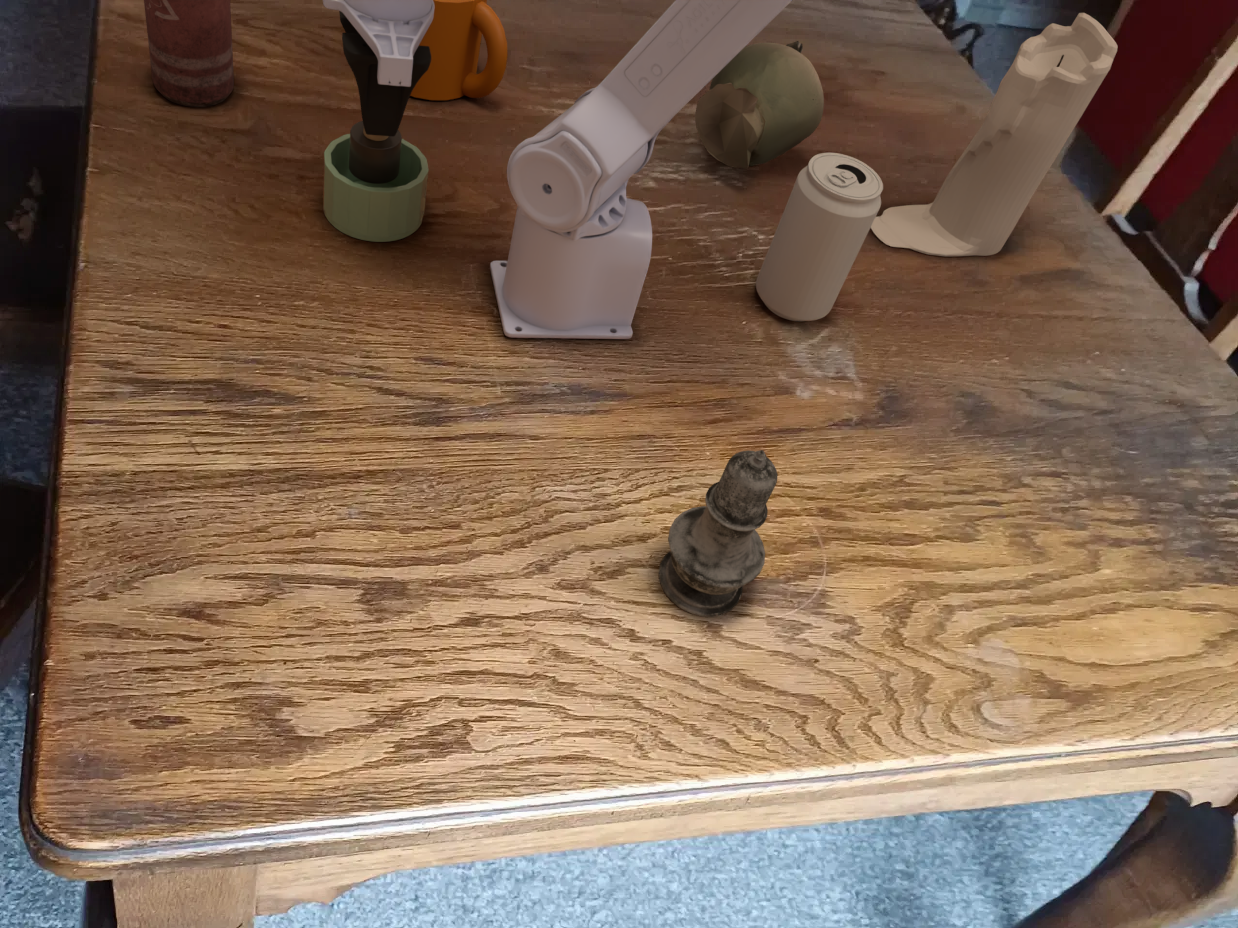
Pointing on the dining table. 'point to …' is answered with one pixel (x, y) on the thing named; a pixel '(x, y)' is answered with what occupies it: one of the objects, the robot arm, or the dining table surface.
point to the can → (191, 50)
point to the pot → (374, 195)
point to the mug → (462, 51)
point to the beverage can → (819, 236)
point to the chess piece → (720, 539)
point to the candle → (1009, 145)
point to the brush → (374, 155)
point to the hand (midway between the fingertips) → (378, 123)
